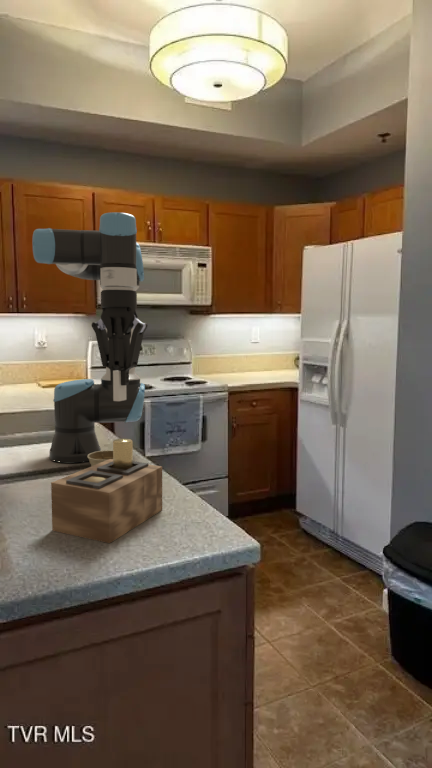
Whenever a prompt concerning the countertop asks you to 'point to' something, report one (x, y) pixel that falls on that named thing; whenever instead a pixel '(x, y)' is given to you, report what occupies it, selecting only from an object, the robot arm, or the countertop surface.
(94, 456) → the flower pot
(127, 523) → the socket block
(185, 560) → the countertop surface
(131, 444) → the peg
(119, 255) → the robot arm
